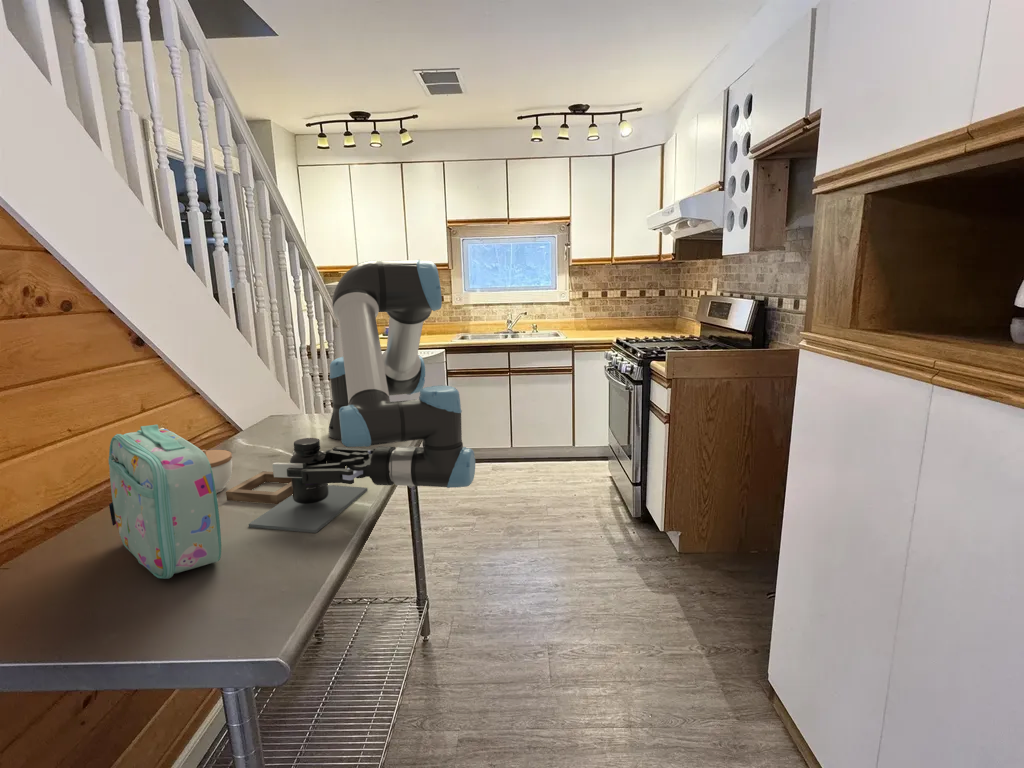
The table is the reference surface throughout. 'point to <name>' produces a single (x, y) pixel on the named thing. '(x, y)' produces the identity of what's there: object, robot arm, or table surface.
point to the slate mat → (308, 511)
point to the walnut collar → (248, 495)
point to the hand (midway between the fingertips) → (284, 463)
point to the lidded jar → (220, 467)
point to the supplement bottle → (312, 456)
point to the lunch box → (164, 501)
